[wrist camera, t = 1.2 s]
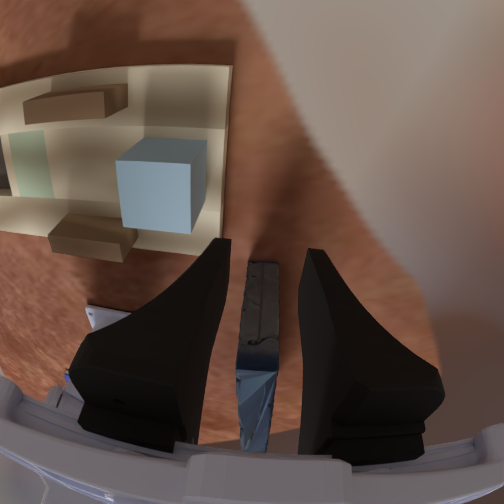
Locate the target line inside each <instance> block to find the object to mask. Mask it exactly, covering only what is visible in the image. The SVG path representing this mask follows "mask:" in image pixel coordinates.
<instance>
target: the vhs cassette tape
mask: <svg viewBox="0 0 504 504" xmlns="http://www.w3.org/2000/svg"><path fill="white" fill-rule="evenodd" d="M246 278H247V279H246V285H245V291H244V300H243V305H242V308H241V322H240V333H239V337H238V338H239V344H238V352H237V359H236V396H237V398H238V416H239V425H240V427H241V428H240V439H241V448H242V451H247V452H258V453H266V451H267V445H268V438H269V433H270V427H271V418H272V411H273V407H274V405H273V403H274V395H275V389H276V381H277V376H278V370H279V362H278V360H279V343H278V337H279V303H280V302H279V263H270V262H258V263H252V262H250V261H249V262H248V267H247V275H246Z"/></svg>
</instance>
